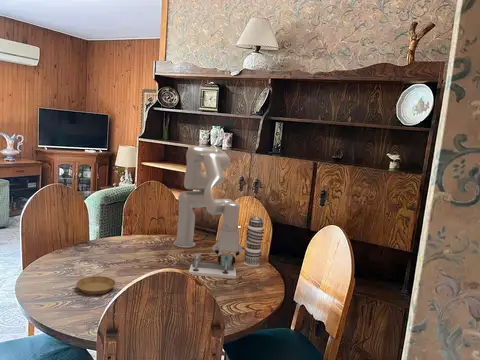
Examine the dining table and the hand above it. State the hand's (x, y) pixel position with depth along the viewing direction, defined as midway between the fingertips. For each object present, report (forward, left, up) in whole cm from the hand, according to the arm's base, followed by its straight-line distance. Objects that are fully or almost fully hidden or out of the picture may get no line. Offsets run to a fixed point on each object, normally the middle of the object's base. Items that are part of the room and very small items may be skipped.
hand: (226, 263), depth 187 cm
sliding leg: (+2, 0, -2) cm, 3 cm away
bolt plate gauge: (+3, -6, -4) cm, 8 cm away
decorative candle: (-15, +14, -5) cm, 21 cm away
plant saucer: (+31, -52, -5) cm, 60 cm away
